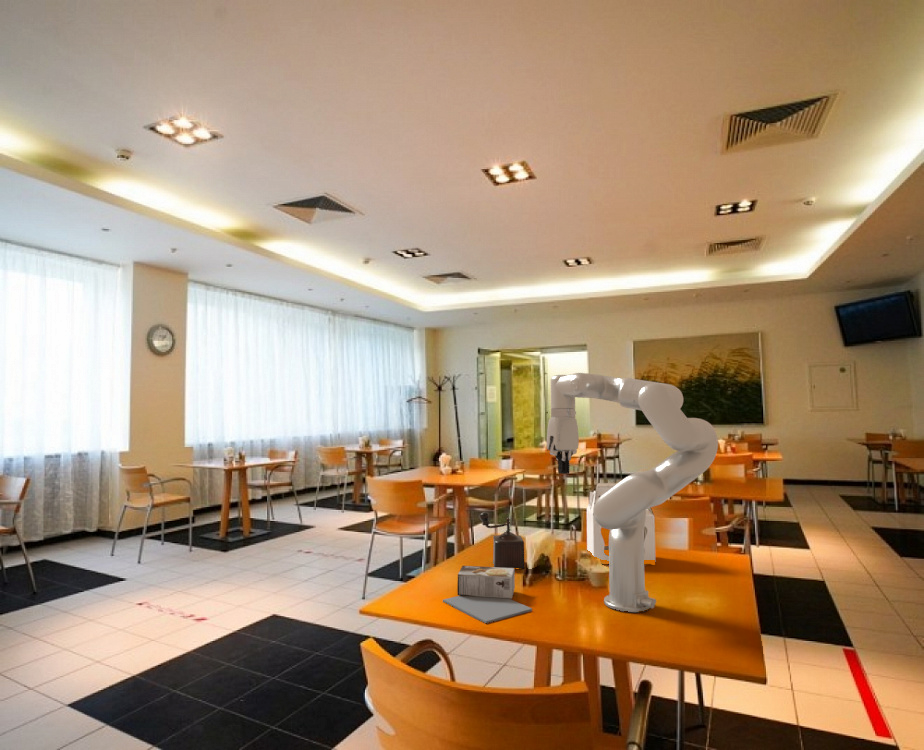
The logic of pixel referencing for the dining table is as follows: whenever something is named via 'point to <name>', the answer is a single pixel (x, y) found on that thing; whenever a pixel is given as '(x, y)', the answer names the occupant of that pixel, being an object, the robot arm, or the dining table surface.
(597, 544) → the gable box
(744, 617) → the dining table surface
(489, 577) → the coffee box
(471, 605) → the mat
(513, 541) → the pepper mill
